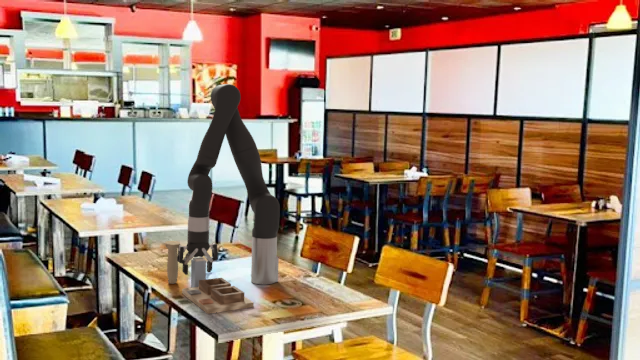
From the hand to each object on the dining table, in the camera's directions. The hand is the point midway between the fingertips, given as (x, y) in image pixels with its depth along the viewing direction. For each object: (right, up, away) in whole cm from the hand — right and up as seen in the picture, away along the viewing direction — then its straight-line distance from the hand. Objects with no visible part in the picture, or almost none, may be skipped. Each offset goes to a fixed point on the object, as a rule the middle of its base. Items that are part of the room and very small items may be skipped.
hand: (197, 273), depth 233 cm
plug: (0, -5, +1) cm, 5 cm away
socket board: (+9, -7, -13) cm, 17 cm away
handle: (-10, -5, +5) cm, 12 cm away
